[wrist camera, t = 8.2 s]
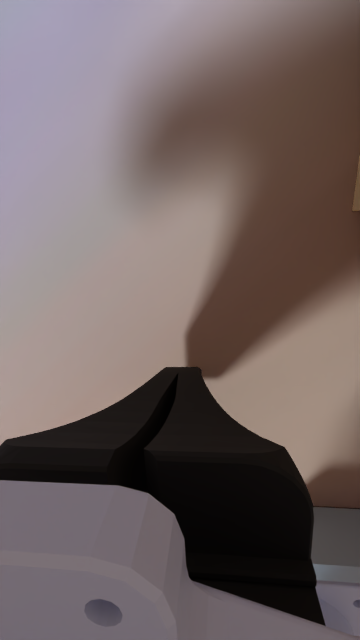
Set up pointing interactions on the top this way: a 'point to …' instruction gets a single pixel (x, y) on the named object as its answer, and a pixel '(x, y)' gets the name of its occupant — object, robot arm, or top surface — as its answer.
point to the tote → (336, 544)
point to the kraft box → (357, 191)
